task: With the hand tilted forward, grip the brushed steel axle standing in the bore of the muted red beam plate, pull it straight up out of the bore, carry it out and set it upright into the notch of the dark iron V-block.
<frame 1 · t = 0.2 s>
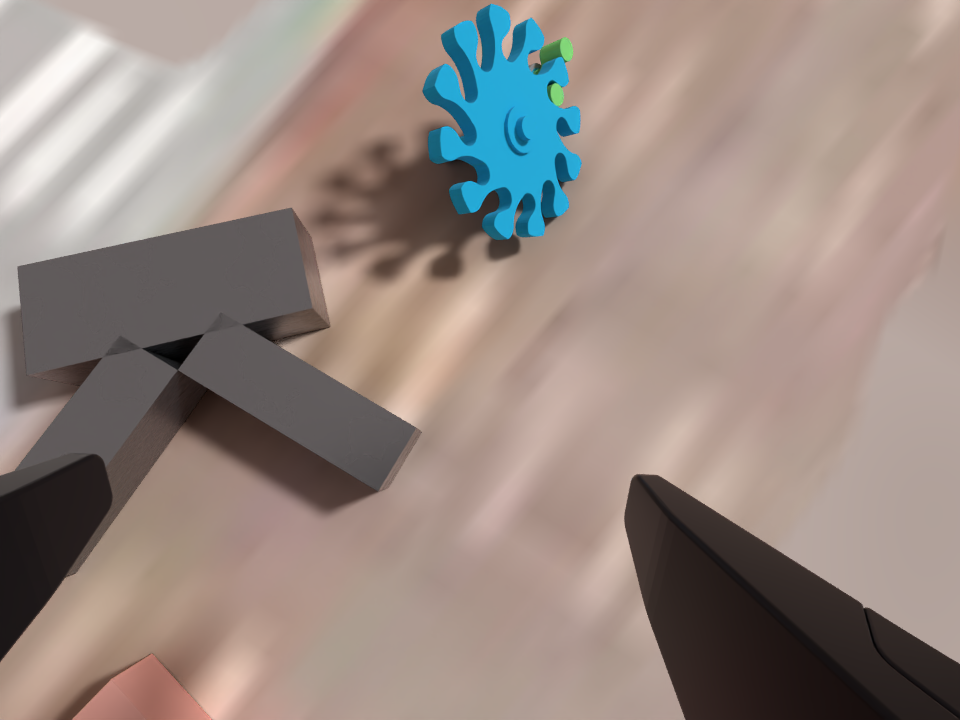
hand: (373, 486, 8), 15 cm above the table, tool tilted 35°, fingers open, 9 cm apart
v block: (225, 456, 23), on the table
gear: (508, 172, 27), on the table
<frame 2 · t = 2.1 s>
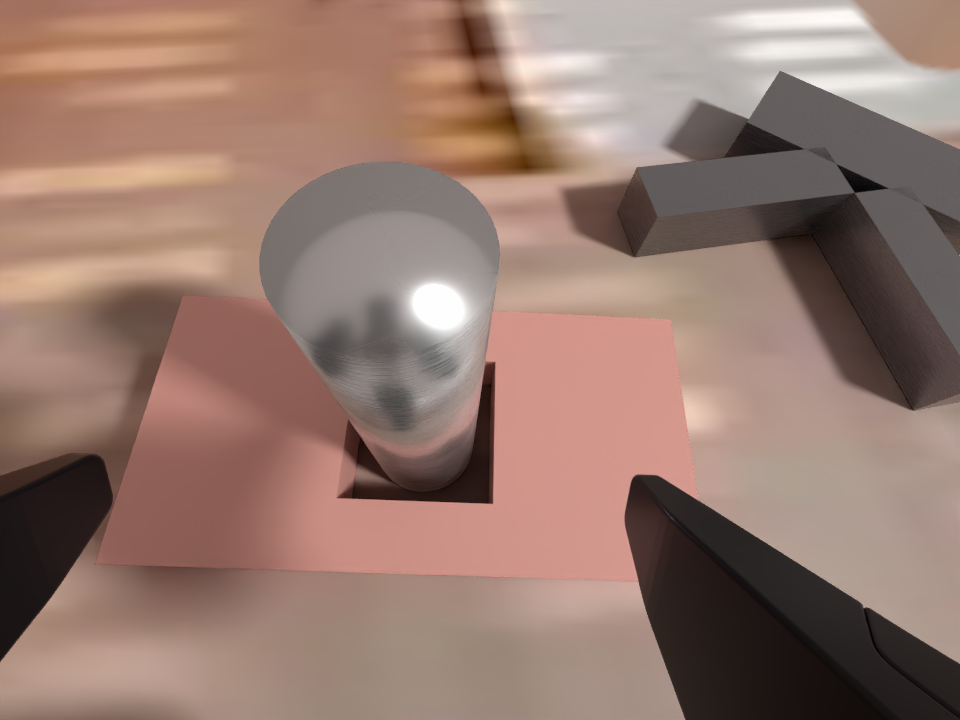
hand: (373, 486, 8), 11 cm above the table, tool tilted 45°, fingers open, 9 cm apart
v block: (789, 280, 24), on the table
axle: (412, 386, 14), in the beam plate
beam plate: (425, 442, 20), on the table
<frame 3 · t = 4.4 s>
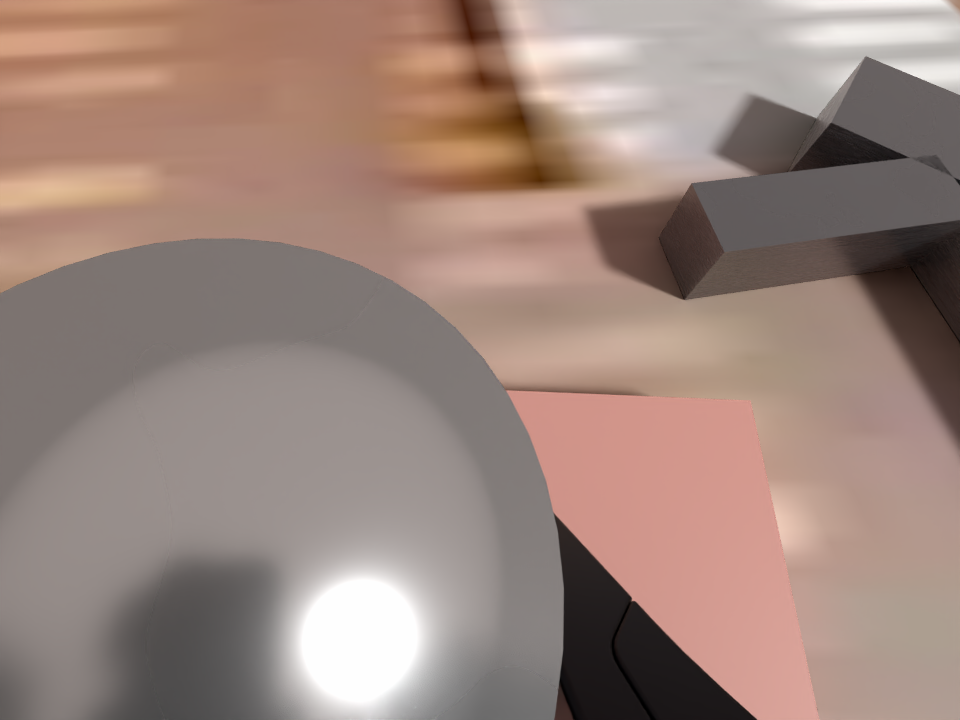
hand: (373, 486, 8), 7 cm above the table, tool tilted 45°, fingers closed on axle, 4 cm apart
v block: (888, 330, 18), on the table
axle: (368, 575, 8), in the beam plate, touching gripper
beam plate: (404, 575, 14), on the table
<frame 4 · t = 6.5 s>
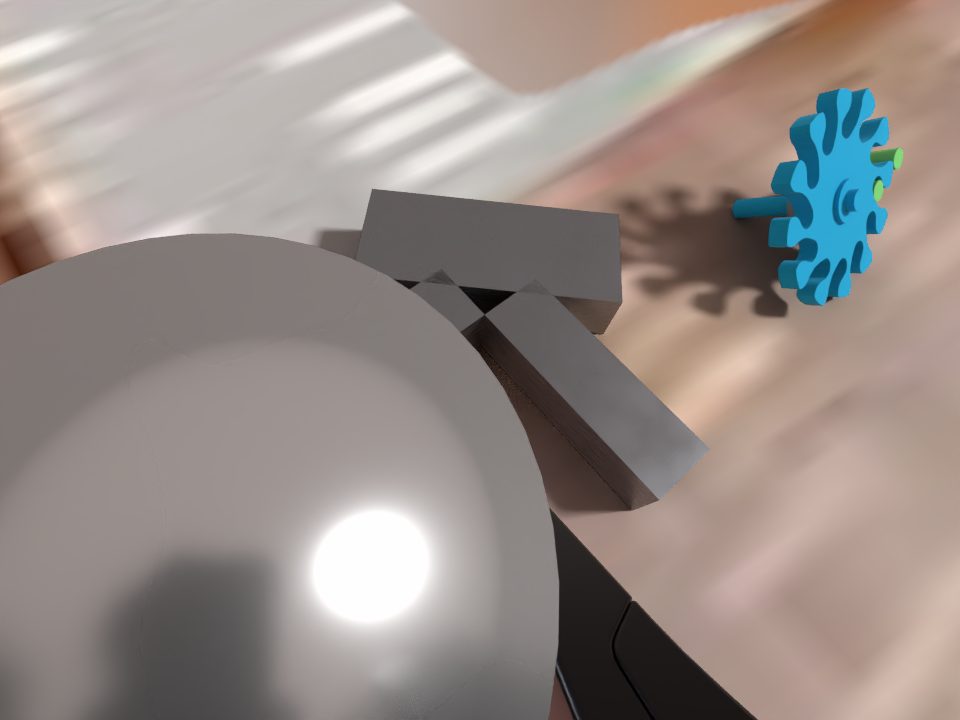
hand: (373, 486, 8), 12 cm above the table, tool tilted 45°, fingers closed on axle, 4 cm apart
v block: (474, 417, 22), on the table
gear: (788, 247, 27), on the table
axle: (367, 574, 8), point 12 cm above the table, touching gripper
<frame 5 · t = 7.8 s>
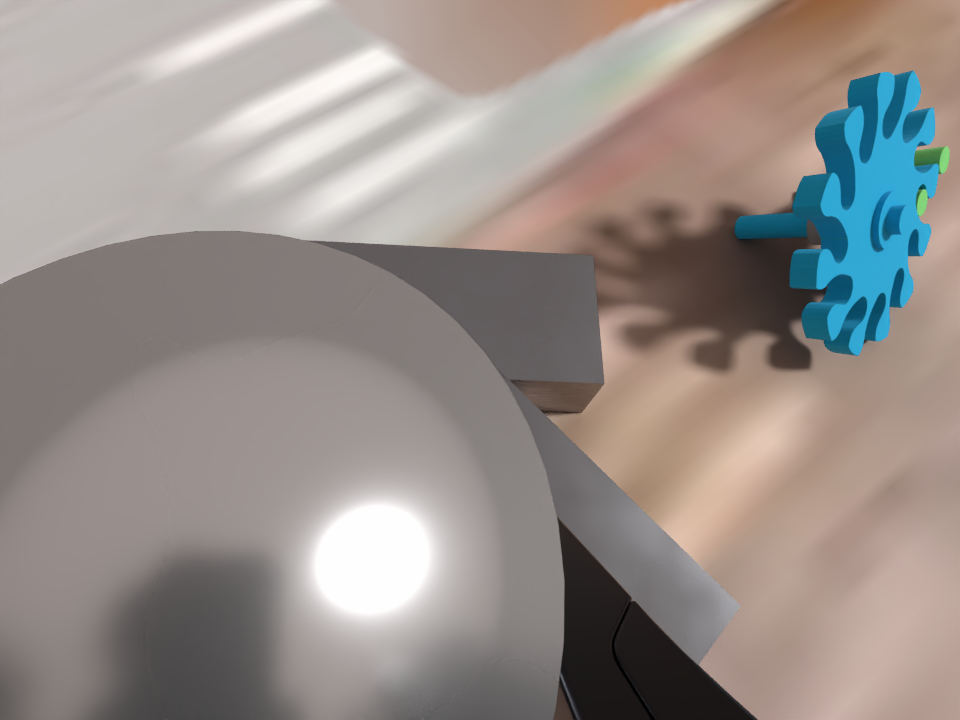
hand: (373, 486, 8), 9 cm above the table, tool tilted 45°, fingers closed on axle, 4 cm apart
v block: (410, 549, 16), on the table
gear: (805, 274, 22), on the table
axle: (368, 573, 8), point 8 cm above the table, touching gripper
when the fingers open (8 cm above the table, at t = 8.7 s): axle stays where it is, on the table.
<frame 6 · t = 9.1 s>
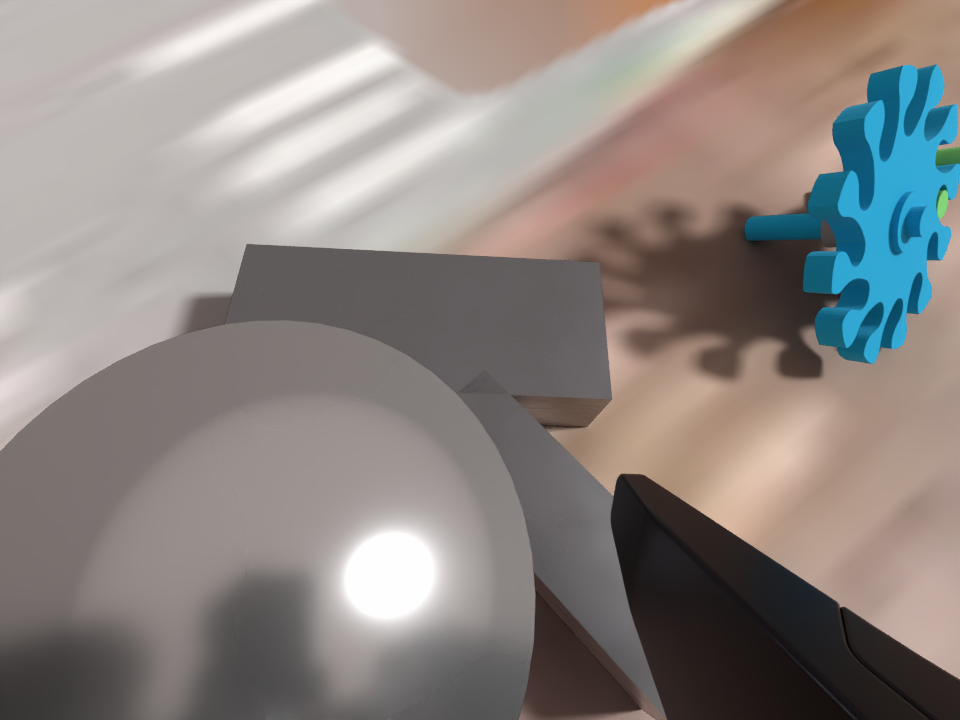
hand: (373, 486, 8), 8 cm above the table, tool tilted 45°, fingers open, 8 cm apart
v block: (407, 574, 15), on the table
gear: (817, 278, 21), on the table
axle: (377, 579, 9), on the table
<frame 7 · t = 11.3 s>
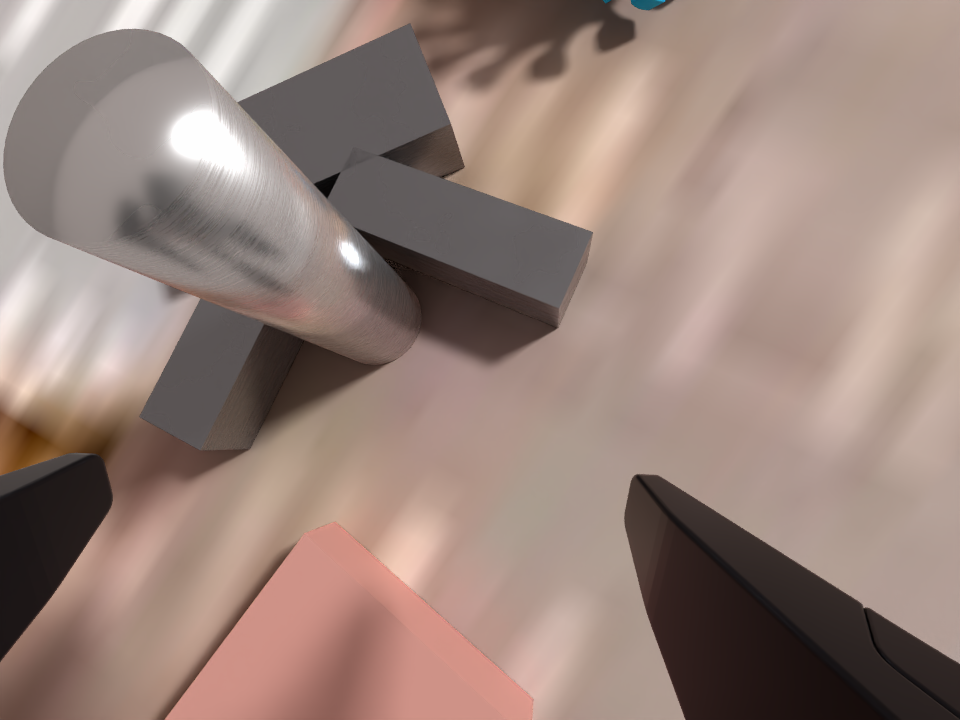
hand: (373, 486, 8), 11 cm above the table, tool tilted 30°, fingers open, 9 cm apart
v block: (375, 317, 21), on the table
axle: (300, 266, 15), on the table
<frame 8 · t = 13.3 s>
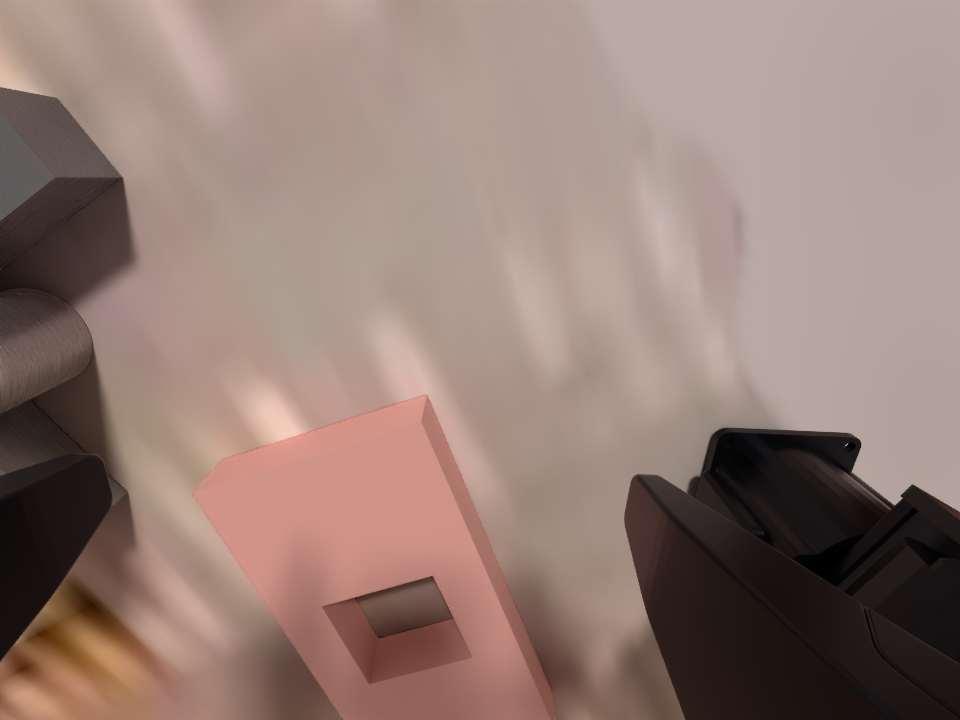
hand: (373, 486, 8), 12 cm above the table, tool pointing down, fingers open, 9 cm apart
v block: (38, 335, 20), on the table
beam plate: (406, 589, 25), on the table
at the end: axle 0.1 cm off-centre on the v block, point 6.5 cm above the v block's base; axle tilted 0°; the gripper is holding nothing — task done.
